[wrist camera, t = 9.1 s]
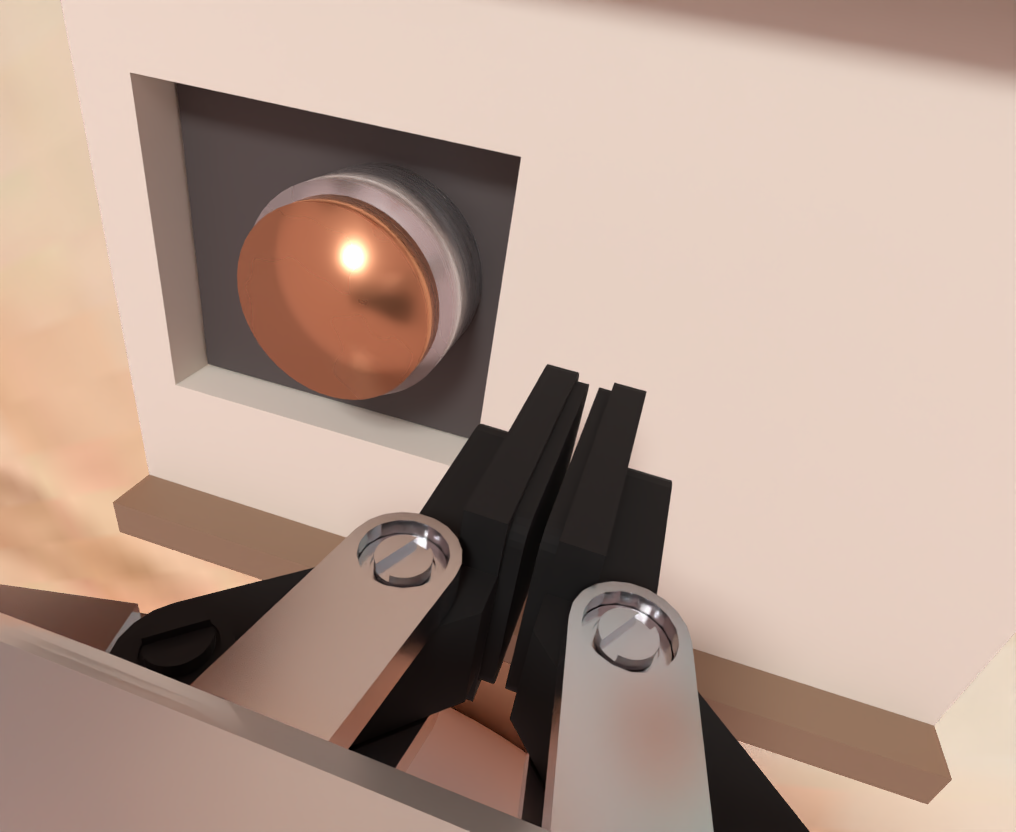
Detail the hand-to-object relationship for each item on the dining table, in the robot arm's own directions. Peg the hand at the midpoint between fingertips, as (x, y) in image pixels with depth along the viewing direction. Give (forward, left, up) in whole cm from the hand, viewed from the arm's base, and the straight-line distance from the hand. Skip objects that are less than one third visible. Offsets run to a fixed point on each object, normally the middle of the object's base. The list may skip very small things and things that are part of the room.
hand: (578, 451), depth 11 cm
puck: (+6, 0, -6) cm, 8 cm away
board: (+1, 0, -6) cm, 6 cm away
